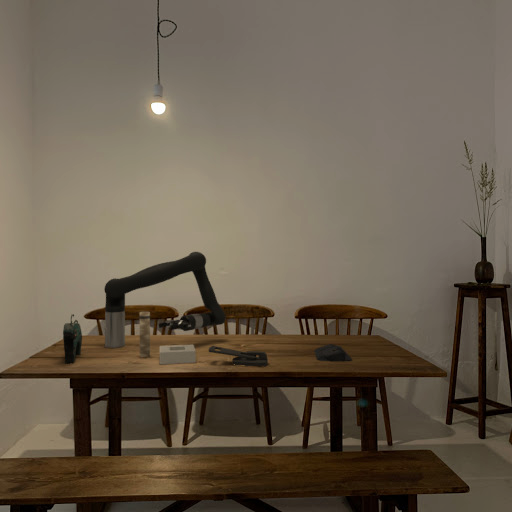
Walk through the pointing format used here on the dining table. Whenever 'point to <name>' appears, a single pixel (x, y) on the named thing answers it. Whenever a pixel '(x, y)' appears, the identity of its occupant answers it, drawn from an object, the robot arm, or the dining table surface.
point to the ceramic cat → (72, 340)
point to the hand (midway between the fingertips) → (164, 326)
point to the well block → (177, 354)
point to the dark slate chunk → (331, 353)
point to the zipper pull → (243, 356)
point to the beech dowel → (144, 334)
